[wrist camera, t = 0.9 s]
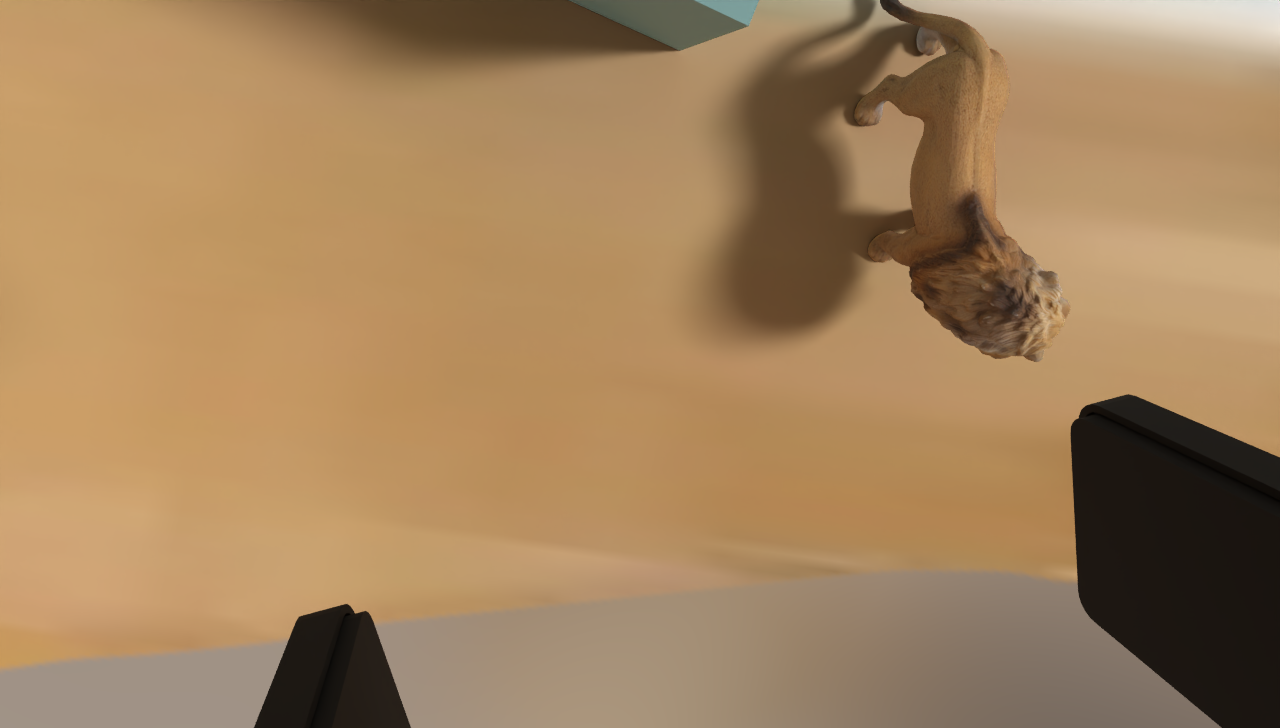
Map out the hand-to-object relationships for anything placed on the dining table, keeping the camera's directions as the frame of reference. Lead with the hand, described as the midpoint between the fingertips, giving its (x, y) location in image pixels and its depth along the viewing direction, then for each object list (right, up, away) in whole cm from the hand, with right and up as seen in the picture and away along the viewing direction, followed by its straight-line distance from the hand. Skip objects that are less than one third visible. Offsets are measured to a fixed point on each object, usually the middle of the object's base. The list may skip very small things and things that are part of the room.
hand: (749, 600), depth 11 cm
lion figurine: (+11, +12, +27) cm, 31 cm away
